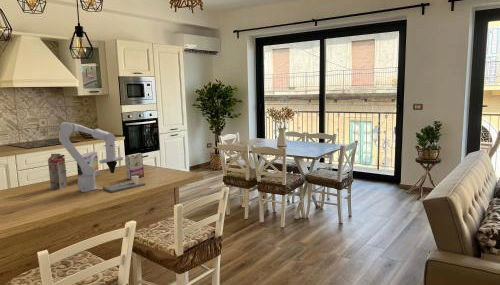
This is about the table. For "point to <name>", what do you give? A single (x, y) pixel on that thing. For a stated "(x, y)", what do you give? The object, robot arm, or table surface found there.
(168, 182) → the table surface
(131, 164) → the candy bar box
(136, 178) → the fader knob
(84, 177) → the robot arm
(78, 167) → the cake pan box
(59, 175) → the juice carton
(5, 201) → the table surface
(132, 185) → the fader panel
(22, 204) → the table surface
